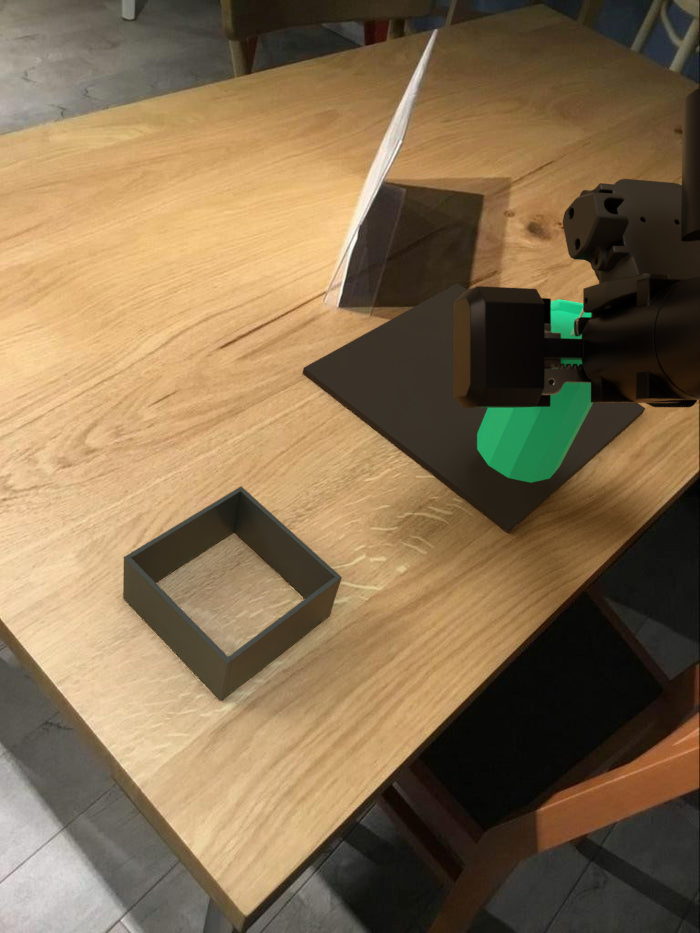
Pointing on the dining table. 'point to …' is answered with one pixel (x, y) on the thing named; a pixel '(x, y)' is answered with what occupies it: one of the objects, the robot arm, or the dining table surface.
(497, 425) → the candle
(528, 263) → the dining table surface
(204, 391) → the dining table surface
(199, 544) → the dark grey square tray
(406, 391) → the mat
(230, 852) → the dining table surface
